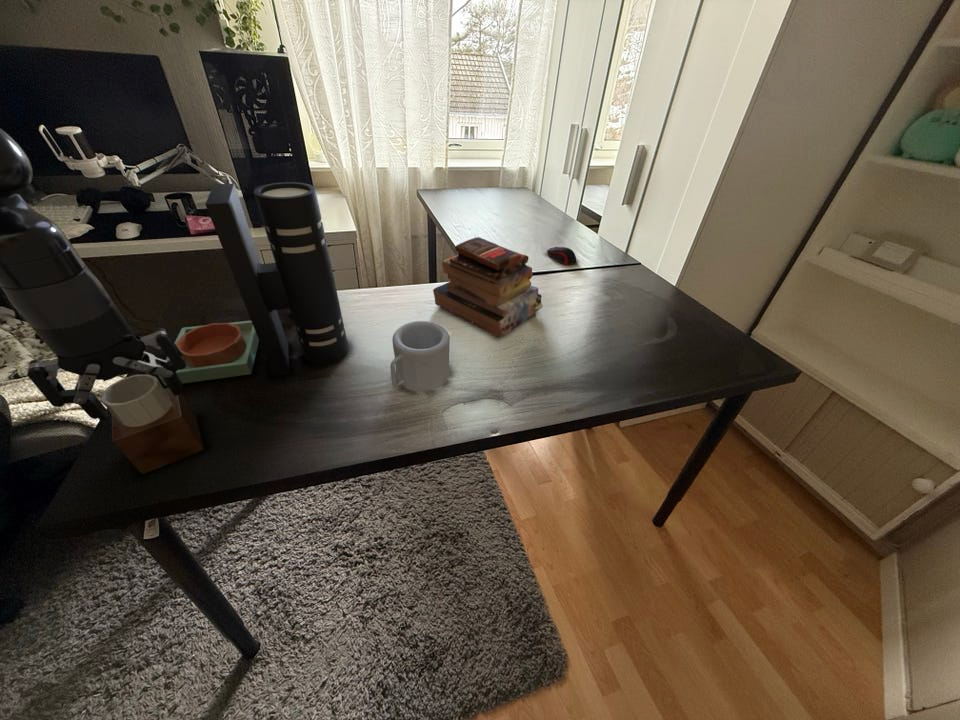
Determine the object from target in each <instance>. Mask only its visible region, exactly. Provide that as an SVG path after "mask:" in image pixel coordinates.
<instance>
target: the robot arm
mask: <svg viewBox="0 0 960 720" xmlns="http://www.w3.org/2000/svg"><path fill="white" fill-rule="evenodd" d="M33 174H34V173H33V166H32V163H31V160H30V159H29V156H28V155H27V154H26V152H25V151H24V149H23V147H22V146H21V145H20V144H19V143H18V142H17V141H16V140H15V139H14V138H13V137H12V136H11V135H10V134H9V133H7V132H6V131H5V130H3V129H2V127H0V288H1V289H2V291H3V292H4V294H5V295H6V298H7V300H8V302H9V303H10V304H11V306H12V307H13V308H14V309H15V310H16V312H18V316H19V317H20V318H21V319H22V320H23V321H24V322H25V323H27V324H28V326H30V328H31V329H32V330H33V331H34V332H35V333H36V334H37V336H38V337H39V338H40V339H41V340H42V342H43V343H44V344H45V345H46V346H47V347H48V348H49V349H50V351H51V352H52V353H53V354H54V355H55V356H56V358H55V359H54V358H53V359H50V360H45V361H43V360H42V359H32V360H30V361H29V364H28V367H27V373H26V375H27V377H28V378H29V380H30V381H31V382H32V383H33V385H35V387H36V388H37V389H38V390H39V392H40V393H41V394H42V395H43V396H44V398H45V399H46V400H47V402H49V404H50V405H51V406H52V407H54V408H60V407H64V406H65V405H67V404H68V405H69V404H75V405H78V406H79V407H80V408H81V409H82V411H83V412H84V413H86V415H87V416H89V418H91V419H93V420H96V419H98V420H99V421H100V422H103V421H106V420H108V419H109V410H108V409H107V407H106V406H105V405H104V404H103V403H102V401H101V400H100V399H99V398H98V397H97V395H95V393H94V392H93V388H94V385H95V383H96V381H103V382H107V381H110V380H112V379H114V378H117V377H120V376H126V375H130V374H133V373H134V371H139V372H142V373H145V374H148V375H151V374H153V375H154V374H155V375H157V376H158V375H160V376H163V379H164V381H165V382H166V384H167V385H168V386H167V388H170V390H171V391H172V393H173V394H174V396H177V395H180V394H181V395H182V393H181V391H183V390H184V386H183V384H182V381H181V380H180V378H179V377H178V375H177V373H176V371H177V370H179V369H180V370H181V369H184V368H185V367H186V364H185V360H184V356H183V354H182V353H181V352H180V350H179V349H178V347H177V346H176V344H175V341H174V340H173V338H172V337H171V336H170V334H169V333H168V331H167V329H165V328H163V327H157V328H156V329H155V330H154V332H153V333H150V334H147V335H143V336H140V335H138V334H137V333H135V332H134V331H133V330H132V328H131V327H130V325H129V323H128V322H127V320H126V319H125V318H124V316H123V314H122V313H121V311H120V310H119V309H118V306H117V305H116V304H115V303H114V301H113V299H112V298H111V296H110V295H109V294H108V292H107V290H106V289H105V287H104V286H103V284H102V283H101V281H100V280H99V279H98V278H97V277H96V275H95V274H94V273H93V272H92V271H91V270H90V268H89V267H88V266H87V265H86V264H85V262H84V260H83V259H82V258H81V256H80V254H79V253H78V251H77V250H76V248H75V247H74V245H73V244H72V243H71V241H70V239H69V238H68V236H67V235H66V233H65V232H64V231H63V230H62V229H61V228H60V226H58V225H57V224H56V223H55V222H54V221H52V220H51V219H50V218H48V217H46V216H44V215H43V214H41V213H40V212H37V211H36V210H35V209H33V208H32V207H31V206H30V205H29V204H28V203H27V202H26V201H25V200H24V198H23V197H22V196H21V194H22V193H24V192H25V191H26V190H27V189H28V188H29V187H30V185H31V184H32V181H33V176H34V175H33ZM146 346H147V347H148V346H150V347H153V348H154V349H156V350H162V351H163V353H164V354H165V356H166V357H167V356H168V358H169V359H170V360H169V361H165V360H166V359H165V360H164V359H162V358H159V357H156V356H155V354H152V353H151V352H147V351H146ZM60 369H61V370H62V371H65V372H68V373H72V374H75V375H78V377H77V381H76V384H75V387H74V388H73V389H71V388H70V389H65V387H64V386H63V385H62V383H61V382H60V381H59V379H58V378H57V377H58V371H59V370H60Z"/></svg>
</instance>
